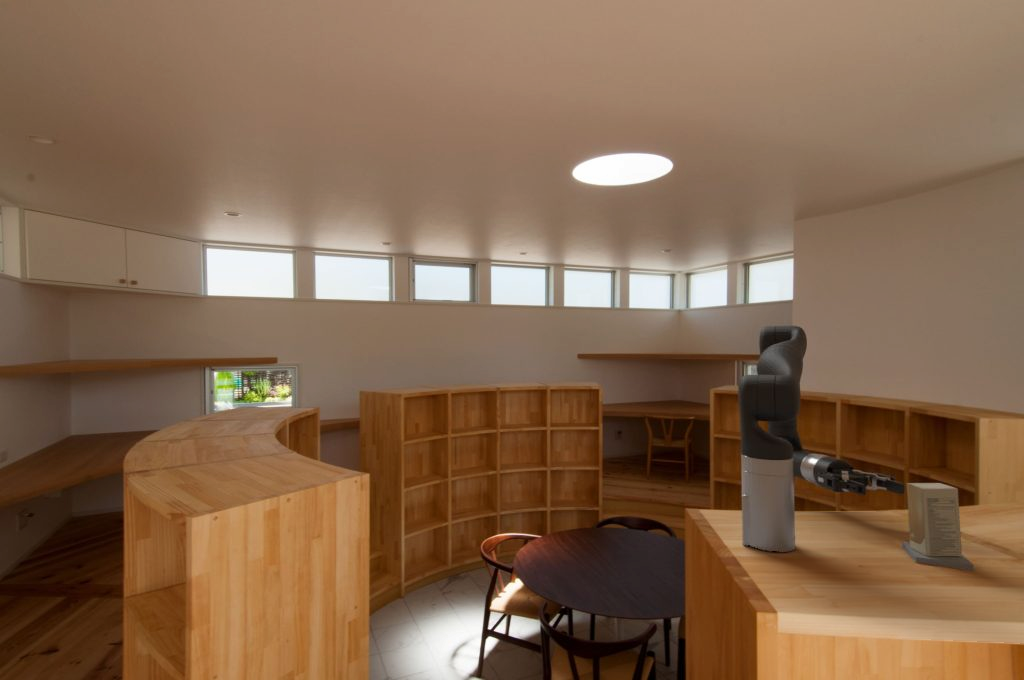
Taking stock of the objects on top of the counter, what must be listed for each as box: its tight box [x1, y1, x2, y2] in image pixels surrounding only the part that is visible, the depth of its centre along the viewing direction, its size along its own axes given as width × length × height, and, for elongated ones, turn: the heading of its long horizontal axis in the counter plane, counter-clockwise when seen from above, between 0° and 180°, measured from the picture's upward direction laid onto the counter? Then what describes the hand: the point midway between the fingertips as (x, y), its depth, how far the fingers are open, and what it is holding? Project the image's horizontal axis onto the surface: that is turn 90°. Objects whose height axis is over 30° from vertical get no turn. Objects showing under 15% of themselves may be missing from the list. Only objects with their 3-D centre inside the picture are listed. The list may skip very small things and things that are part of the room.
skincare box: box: [906, 482, 963, 556], centre depth 91 cm, size 6×4×12 cm
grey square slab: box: [901, 541, 975, 571], centre depth 90 cm, size 8×8×1 cm
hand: (883, 489), depth 102 cm, fingers open, 8 cm apart
